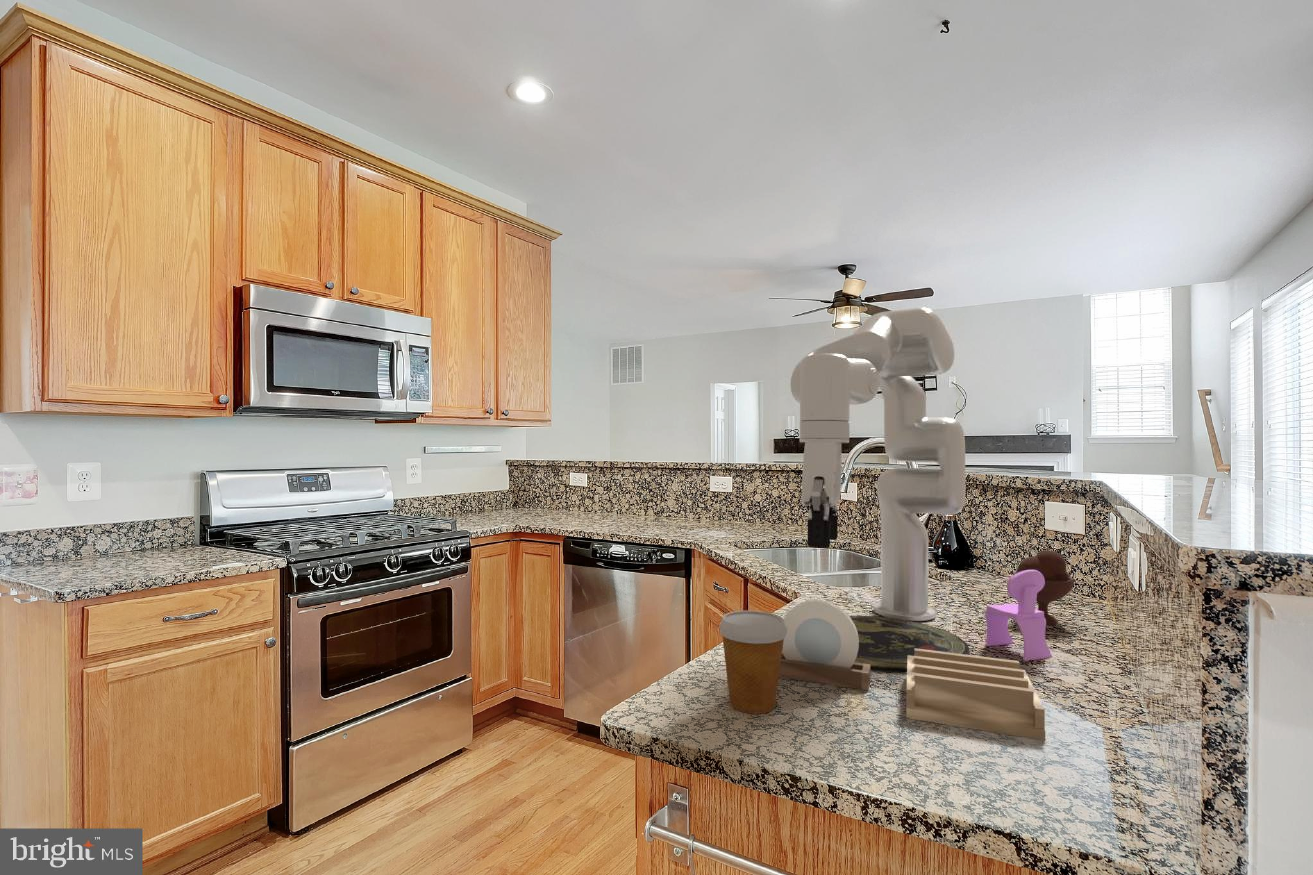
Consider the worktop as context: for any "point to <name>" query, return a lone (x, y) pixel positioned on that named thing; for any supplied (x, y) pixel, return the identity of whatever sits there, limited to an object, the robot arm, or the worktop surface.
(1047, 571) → the ice cream bowl
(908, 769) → the worktop surface
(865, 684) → the plate stand
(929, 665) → the dish rack
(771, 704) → the disposable coffee cup
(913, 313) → the robot arm
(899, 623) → the decorative plate
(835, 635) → the side plate
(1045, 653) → the toy chair
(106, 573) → the worktop surface
